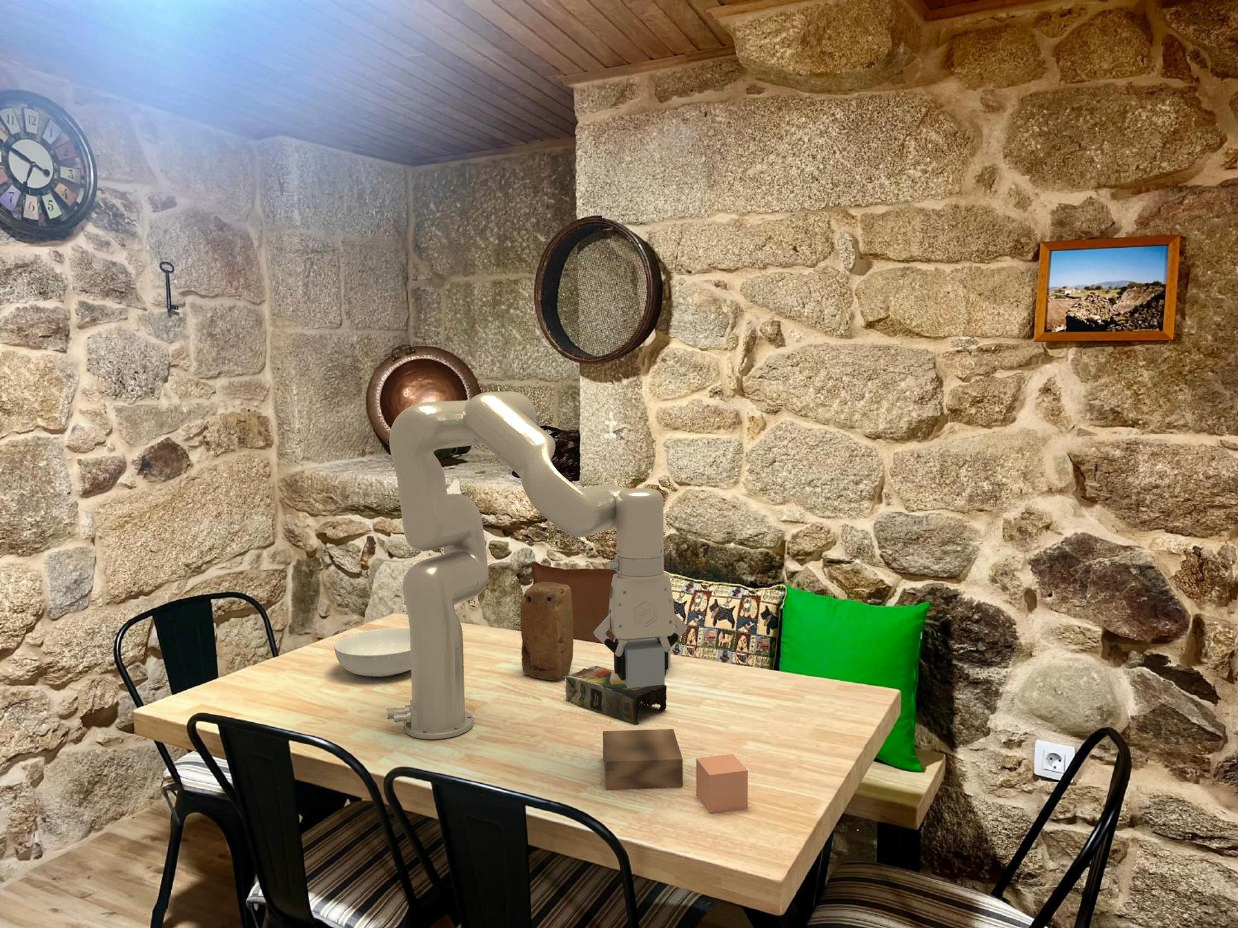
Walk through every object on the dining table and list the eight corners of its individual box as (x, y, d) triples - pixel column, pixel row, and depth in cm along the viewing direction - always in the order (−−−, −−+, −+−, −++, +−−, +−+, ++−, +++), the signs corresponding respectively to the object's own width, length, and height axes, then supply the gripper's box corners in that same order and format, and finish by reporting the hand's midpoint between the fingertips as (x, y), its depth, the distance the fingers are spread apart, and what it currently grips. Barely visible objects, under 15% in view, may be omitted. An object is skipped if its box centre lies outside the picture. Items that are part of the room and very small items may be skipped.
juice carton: (559, 701, 179) (559, 671, 179) (593, 688, 186) (593, 660, 186) (634, 728, 166) (635, 696, 165) (668, 714, 173) (669, 683, 172)
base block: (606, 792, 140) (606, 761, 140) (603, 759, 152) (602, 730, 152) (682, 789, 141) (682, 758, 140) (673, 757, 153) (673, 728, 152)
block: (576, 673, 195) (575, 583, 193) (560, 684, 188) (558, 590, 186) (534, 666, 200) (532, 578, 198) (516, 677, 193) (514, 585, 191)
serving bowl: (390, 650, 213) (389, 622, 212) (452, 666, 201) (451, 636, 200) (315, 674, 196) (314, 643, 195) (377, 693, 184) (376, 660, 183)
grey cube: (628, 687, 141) (627, 650, 141) (618, 675, 147) (618, 640, 146) (664, 684, 143) (664, 647, 142) (654, 672, 148) (653, 637, 148)
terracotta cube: (709, 813, 132) (709, 774, 132) (696, 795, 138) (696, 758, 138) (747, 808, 134) (747, 770, 133) (732, 790, 140) (732, 753, 139)
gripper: (592, 574, 137) (594, 688, 139) (699, 567, 142) (699, 678, 143) (582, 564, 145) (584, 673, 146) (684, 558, 149) (684, 663, 151)
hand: (641, 674), depth 145 cm, fingers closed on grey cube, 6 cm apart
